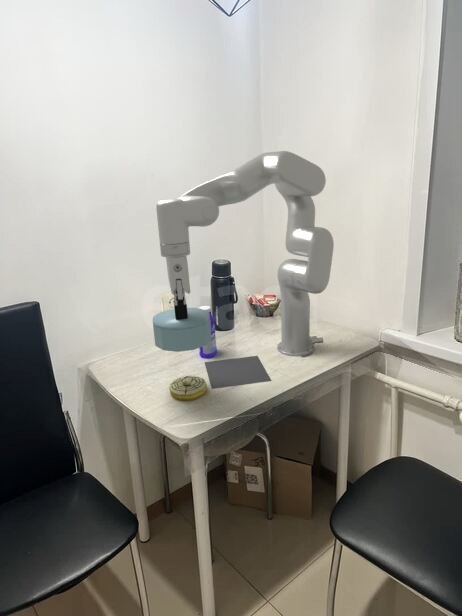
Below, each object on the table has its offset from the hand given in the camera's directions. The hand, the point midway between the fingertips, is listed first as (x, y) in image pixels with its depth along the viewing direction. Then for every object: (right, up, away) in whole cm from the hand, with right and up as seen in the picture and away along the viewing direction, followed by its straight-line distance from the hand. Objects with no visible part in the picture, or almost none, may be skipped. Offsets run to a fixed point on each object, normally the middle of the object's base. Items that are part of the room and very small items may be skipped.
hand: (181, 315), depth 111 cm
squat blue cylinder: (0, -7, +2) cm, 7 cm away
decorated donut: (+1, -23, +8) cm, 24 cm away
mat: (+15, -18, +18) cm, 30 cm away
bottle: (+6, -14, +31) cm, 35 cm away
